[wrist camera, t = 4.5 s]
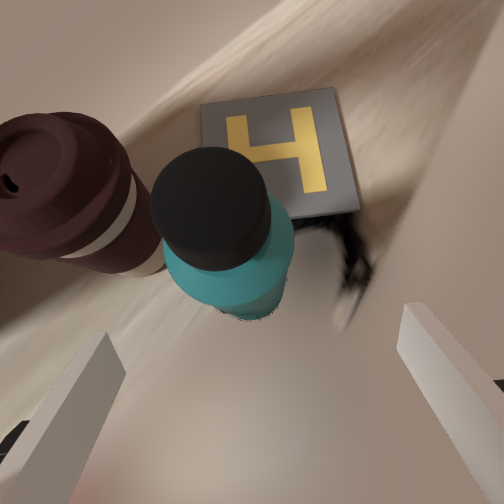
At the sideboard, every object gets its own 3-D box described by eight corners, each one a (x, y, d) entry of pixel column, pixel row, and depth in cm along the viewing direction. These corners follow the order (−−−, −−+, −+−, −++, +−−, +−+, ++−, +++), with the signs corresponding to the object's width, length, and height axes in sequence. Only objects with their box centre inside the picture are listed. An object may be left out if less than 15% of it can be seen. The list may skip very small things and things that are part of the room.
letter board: (207, 228, 30) (206, 226, 29) (201, 108, 35) (200, 103, 34) (358, 211, 30) (361, 208, 29) (331, 91, 34) (332, 86, 34)
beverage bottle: (286, 260, 29) (315, 106, 9) (281, 327, 27) (306, 306, 8) (223, 255, 29) (130, 100, 10) (214, 320, 27) (80, 284, 8)
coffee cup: (181, 194, 31) (101, 74, 17) (193, 279, 28) (109, 219, 14) (95, 214, 32) (-54, 111, 17) (99, 301, 29) (-79, 263, 14)
